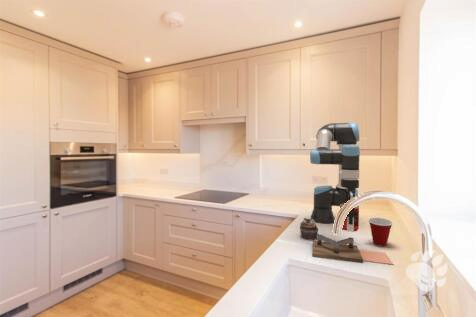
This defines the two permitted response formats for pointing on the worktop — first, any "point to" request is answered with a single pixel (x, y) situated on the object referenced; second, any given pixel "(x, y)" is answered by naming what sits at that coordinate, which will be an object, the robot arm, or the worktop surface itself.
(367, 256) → the mat
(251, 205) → the worktop surface
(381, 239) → the plastic cup
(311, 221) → the cupcake
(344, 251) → the wire board
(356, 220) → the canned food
